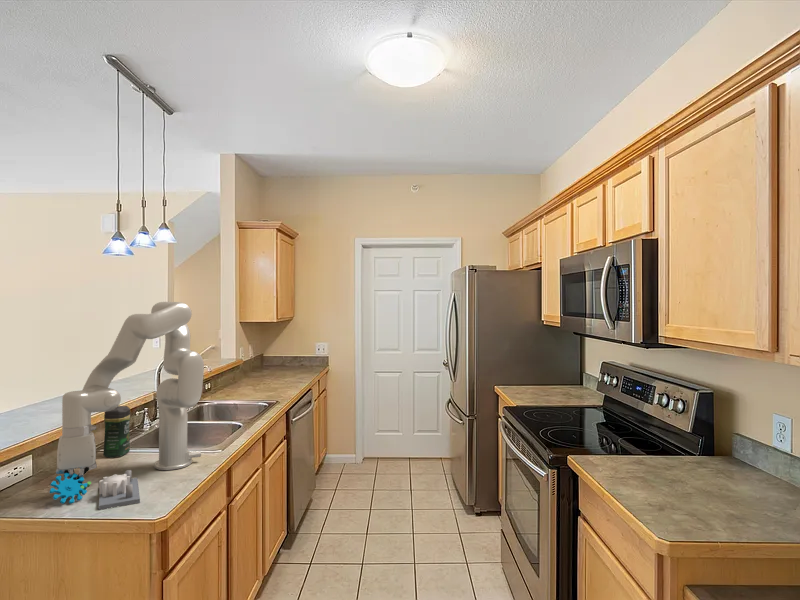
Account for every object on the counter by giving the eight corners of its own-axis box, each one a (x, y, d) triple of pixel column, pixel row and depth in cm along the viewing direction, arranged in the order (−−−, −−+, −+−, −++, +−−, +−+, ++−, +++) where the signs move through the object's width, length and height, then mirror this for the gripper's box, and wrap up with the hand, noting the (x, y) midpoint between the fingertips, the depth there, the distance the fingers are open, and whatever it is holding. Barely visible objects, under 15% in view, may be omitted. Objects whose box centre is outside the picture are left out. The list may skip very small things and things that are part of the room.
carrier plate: (137, 481, 165) (137, 465, 165) (139, 502, 148) (139, 485, 148) (100, 487, 160) (100, 470, 160) (98, 510, 142) (98, 492, 142)
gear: (53, 504, 142) (48, 473, 147) (46, 515, 144) (41, 485, 149) (95, 497, 151) (89, 468, 156) (87, 508, 153) (81, 479, 158)
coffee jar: (122, 458, 188) (122, 409, 188) (100, 458, 188) (100, 409, 188) (133, 450, 198) (133, 404, 198) (112, 450, 197) (112, 404, 197)
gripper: (104, 425, 161) (104, 481, 161) (49, 431, 154) (48, 490, 154) (104, 430, 155) (104, 489, 155) (45, 437, 147) (45, 498, 147)
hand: (76, 489), depth 154 cm, fingers closed
